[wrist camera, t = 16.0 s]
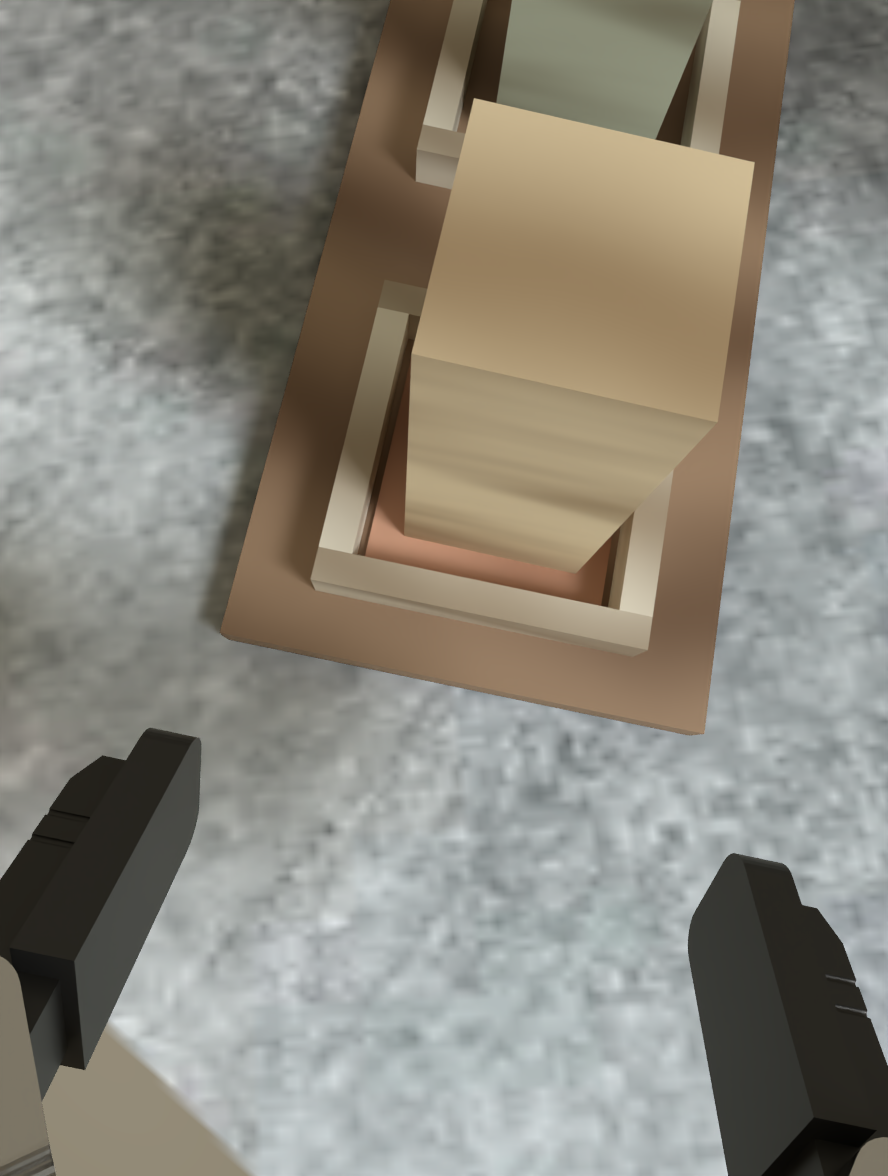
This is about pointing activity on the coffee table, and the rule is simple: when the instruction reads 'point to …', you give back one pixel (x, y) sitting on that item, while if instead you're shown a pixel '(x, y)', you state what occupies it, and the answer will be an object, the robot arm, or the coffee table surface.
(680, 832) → the coffee table surface
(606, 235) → the maple block
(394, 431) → the baseboard
